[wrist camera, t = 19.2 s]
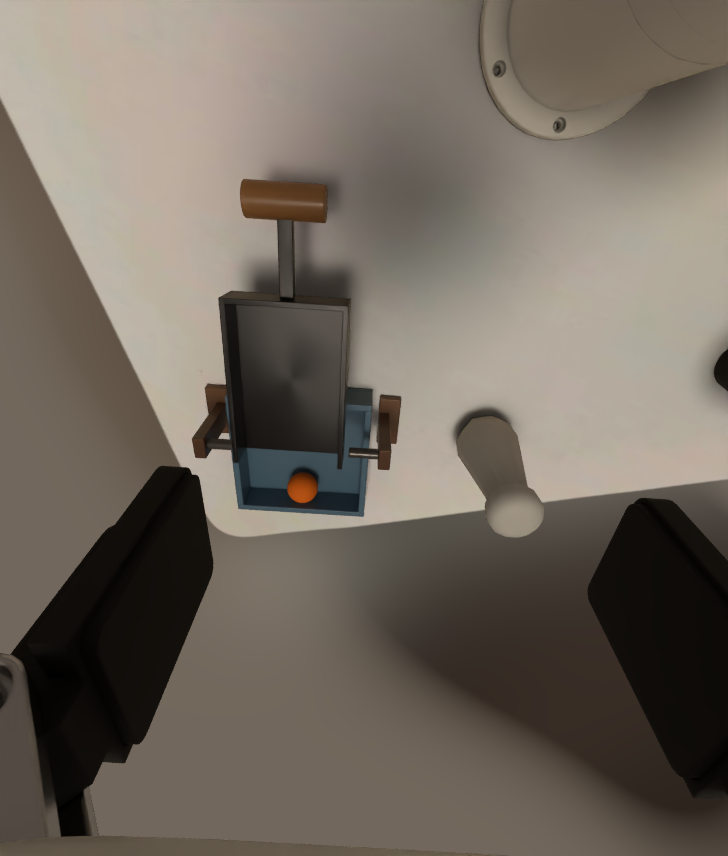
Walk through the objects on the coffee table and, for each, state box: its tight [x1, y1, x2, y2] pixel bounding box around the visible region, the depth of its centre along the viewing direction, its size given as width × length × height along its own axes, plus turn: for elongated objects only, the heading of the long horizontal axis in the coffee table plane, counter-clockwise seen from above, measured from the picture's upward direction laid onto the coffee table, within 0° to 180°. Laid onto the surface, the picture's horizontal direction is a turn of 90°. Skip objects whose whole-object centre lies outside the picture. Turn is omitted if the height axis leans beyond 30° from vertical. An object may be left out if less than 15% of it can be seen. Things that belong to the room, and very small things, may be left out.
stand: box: [192, 384, 401, 470], centre depth 40 cm, size 5×19×7 cm, turn 87°
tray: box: [225, 388, 373, 517], centre depth 43 cm, size 13×13×4 cm
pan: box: [218, 179, 351, 470], centre depth 31 cm, size 20×9×3 cm, turn 177°
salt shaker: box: [457, 416, 544, 537], centre depth 38 cm, size 6×6×13 cm
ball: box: [287, 472, 318, 503], centre depth 45 cm, size 3×3×3 cm
